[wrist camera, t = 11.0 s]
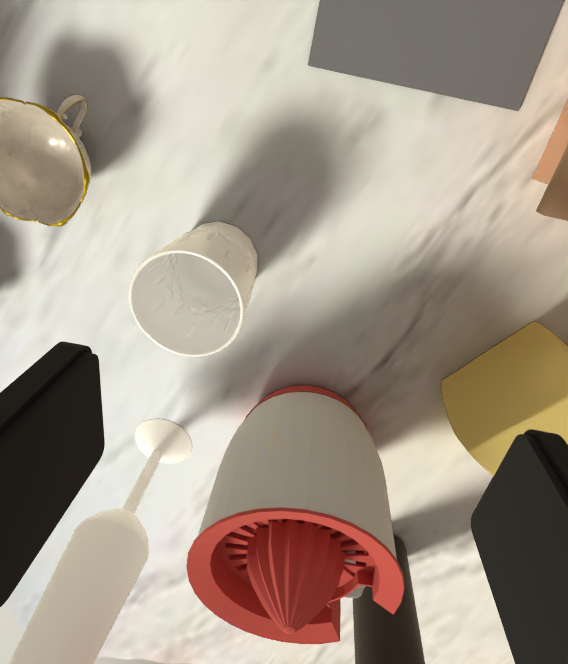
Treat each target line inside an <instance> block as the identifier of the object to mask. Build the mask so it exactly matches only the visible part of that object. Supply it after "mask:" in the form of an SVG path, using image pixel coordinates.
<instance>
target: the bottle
mask: <svg viewBox="0 0 568 664" xmlns="http://www.w3.org/2000/svg"><path fill="white" fill-rule="evenodd" d="M393 536H394V535H393ZM394 543H395V550H396V558H397V561H398V563H399V565H400V567H401V570H402V572H403V577H404V586H405V588H404V592H403V596H402V601H401V604H400V605H399V607H398V608H397V610H396V611H395V613H394V614H392V613H390V612H389V611H388V610H386V609H385V608H383V607H382V606H381V605H379V604H378V603H376V602H375V601H374V600H373V591H372V587H369V586H366V587H365V588H364V589H363V592H362V595H361V596H360V597H358V598H353V618H354V642H355V664H425V661H424V654H423V648H422V642H421V636H420V630H419V624H418V618H417V612H416V606H415V600H414V594H413V588H412V582H411V576H410V570H409V564H408V558H407V552H406V548H405V546H404V543H403V542H402V541H401V540H400V539H399V538H398V537H396V536H394Z"/></svg>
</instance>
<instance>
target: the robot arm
mask: <svg viewBox="0 0 568 664" xmlns="http://www.w3.org/2000/svg"><path fill="white" fill-rule="evenodd" d="M103 450H104V429H103V414H102V400H101V386H100V372H99V359H98V356H97V355H96V354H92V351H91V349H90V347H88V346H84V345H79V344H74V343H68V342H60V343H58V344H57V345H55V346H54V347H53V348H52V349H51V350H50V351H48V352H47V353H46V354H45V355H44V356H43V357H41V358H40V359H39V360H38V361H37V362H36V363H34V364H33V365H32V366H31V367H30V368H29V369H27V370H26V371H25V372H24V373H23V374H22V375H21V376H19V377H18V378H17V379H16V380H15V381H14V382H12V383H11V384H10V385H9V386H8V387H7V388H5V389H4V390H3V391H2V392H1V393H0V607H1V606H2V605H3V604H4V603H5V602H6V601H7V599H8V598H9V597H10V595H11V594H12V592H13V591H14V589H15V588H16V586H17V585H18V583H19V581H20V580H21V578H22V577H23V575H24V574H25V572H26V571H27V569H28V568H29V566H30V565H31V563H32V562H33V560H34V559H35V557H36V556H37V554H38V553H39V551H40V550H41V548H42V547H43V545H44V544H45V542H46V541H47V539H48V538H49V536H50V535H51V533H52V531H53V530H54V528H55V527H56V525H57V524H58V522H59V521H60V519H61V518H62V516H63V515H64V513H65V512H66V510H67V509H68V507H69V506H70V504H71V503H72V501H73V500H74V498H75V497H76V495H77V494H78V492H79V491H80V489H81V488H82V486H83V485H84V483H85V481H86V480H87V478H88V477H89V475H90V474H91V472H92V471H93V469H94V468H95V466H96V465H97V463H98V462H99V460H100V458H101V456H102V454H103ZM471 529H472V533H473V536H474V539H475V542H476V545H477V549H478V552H479V555H480V558H481V561H482V564H483V567H484V570H485V573H486V576H487V579H488V582H489V585H490V588H491V591H492V594H493V597H494V600H495V603H496V606H497V609H498V612H499V615H500V618H501V622H502V625H503V628H504V631H505V634H506V637H507V640H508V643H509V646H510V649H511V652H512V655H513V658H514V661H515V664H568V444H567V443H566V442H565V440H564V439H563V438H562V437H561V436H560V435H558V434H555V433H549V432H544V431H539V430H533V429H530V430H527V431H525V432H524V434H519V435H517V436H516V437H515V439H514V441H513V442H512V444H511V446H510V448H509V450H508V451H507V453H506V455H505V457H504V458H503V460H502V462H501V464H500V466H499V467H498V469H497V471H496V473H495V475H494V476H493V478H492V480H491V482H490V484H489V485H488V487H487V489H486V491H485V493H484V494H483V496H482V498H481V500H480V502H479V503H478V505H477V507H476V509H475V510H474V512H473V515H472V518H471Z"/></svg>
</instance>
